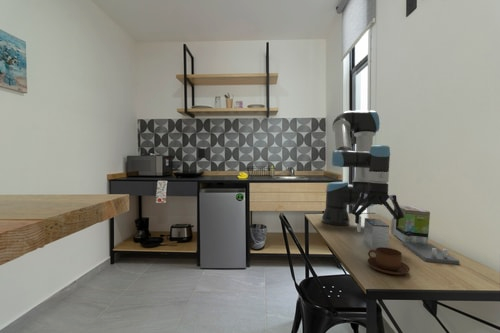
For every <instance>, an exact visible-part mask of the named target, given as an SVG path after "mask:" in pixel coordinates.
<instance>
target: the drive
mask: <svg viewBox="0 0 500 333" xmlns="http://www.w3.org/2000/svg"><path fill="white" fill-rule="evenodd" d="M363 224H364V226H363V242H365V244H366V245H368V247H369V248H370V250H375V251H376V248H379V247H385V248H389V236H390V233H389V232H390V226H389V224H387V223H386V222H384V221H382V220H381V219H380V218H367V217H365V218H364V223H363Z"/></svg>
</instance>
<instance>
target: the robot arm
mask: <svg viewBox="0 0 500 333" xmlns="http://www.w3.org/2000/svg"><path fill="white" fill-rule="evenodd" d="M380 123H381V122H380V117H379V114H378V112H377V111H375V110H347V111H343V112H342V113H340V114H339V115H337V116H336V117H335V119H334V120H333V122H332V131H333V133H334V142H335V143H334V144H335V150H333V151H332V153H331V165H332V166H333V167H339V168H355V170H354V171H355V172H354V173H355V174H354V178H353V180H352V182H351V184H349V181H333V182H329V183H327V184H326V190H325V194H326V195H325V209H324V212H323V213H322V216H321V222H323V223H325V224H327V225H328V224H329V225H331V226H332V225H333V226H349V225H350V223H351V220H350V215H349V213H348V206H353V207H352V209H351V211H350V213H351V214H352V215H353V216H354V218H355V219H354V222H355V224H356V225H357V226H356V227H357V228H356V231H357V232H358V233H361V229H362V228H361V227H362V216H361V215H362V214H363V212H365V211H366V210H367V209H368V208H369V207H374V206H376V205H378V206H382V205H383V206H384V207H385V209H386V210H387V211H388V212H389V213H390V214H391V216H392V217H391V226H390V227H391V229H390V233H391V234H392V235H393V236H395V235H396V227H398V223H399V219H400V218H404V215H403V213H402V211H401V209H400V207H399V205H400V204H399V203H398V199H397V195H396V194H389V177H390V175H389V174H390V161H391V160H390V157H391V149H390V148H391V147H390V146H389V145H382V144H381V145H380V144H379V145H377V144H376V145H373V138H374V136H376V135H377V132H379V130H380V125H381V124H380ZM350 132H353V136H354V137H355V138H356V140H355V143H356V144H355V151H354V150H353V145H352V140H351V134H350ZM388 200H390V201H391V202H392V205H393V208H392V206H391V205H390V204H389V203H388ZM394 207H395V209H396V211H397V214H398V215H397V214H396V213H395V211H394ZM348 224H349V225H348ZM391 234H390V235H391Z"/></svg>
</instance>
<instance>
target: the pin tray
mask: <svg viewBox="0 0 500 333" xmlns="http://www.w3.org/2000/svg"><path fill="white" fill-rule="evenodd" d="M425 243H426V238H425V237H422V242H421V243H416V237H415V236H412V242H403V241H402V245H403V246H404V247H405V248H407V249H408V250H409V251H411V252H412V253H414V254H415V255H416V256H418V257H419V258H420V259H421V260H423V261H424V262H429V263H442V264H451V265H460V260H458V259H457V258H455V257H453V256H452V255H450V254H449V253H448V252H449V250H448V249H446V248H443V249H440V248H438V247H437V246H435V245H433V244H431V243H428V244H425Z"/></svg>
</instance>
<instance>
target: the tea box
mask: <svg viewBox="0 0 500 333" xmlns="http://www.w3.org/2000/svg"><path fill="white" fill-rule="evenodd" d="M399 207H400V209H401V211H402V213H403V215H404V218H400V219H399V223H398V227H396V235H394V236H395V238H397V239H399V240H400V241H402V243H403V242H412V236H415V237H416V243H421V242H422V237H425V238H426V243H425V244H429V232H430V221H431V220H430V218H431V212H430V211H429V210H427V209H426V210H425V209H423V208H420V207H417V206H411V205H401V204H399ZM393 210H394V211H395V213H396V214H397V211H396V209H395V207H394V206H393ZM397 215H398V214H397Z"/></svg>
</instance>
